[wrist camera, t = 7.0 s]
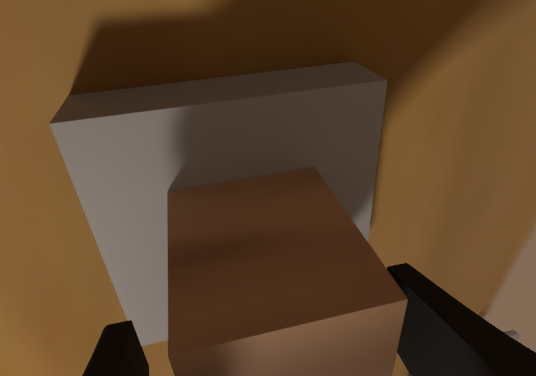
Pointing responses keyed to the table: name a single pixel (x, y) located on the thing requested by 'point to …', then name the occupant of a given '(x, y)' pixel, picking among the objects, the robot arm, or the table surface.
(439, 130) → the table surface
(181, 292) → the walnut block
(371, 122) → the grey box
